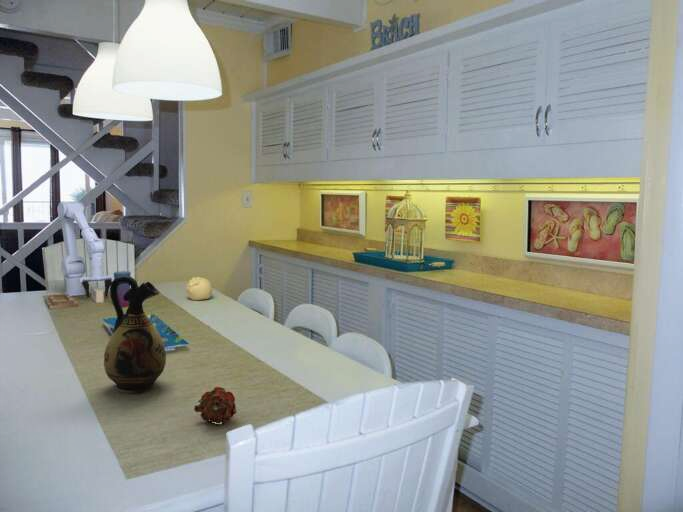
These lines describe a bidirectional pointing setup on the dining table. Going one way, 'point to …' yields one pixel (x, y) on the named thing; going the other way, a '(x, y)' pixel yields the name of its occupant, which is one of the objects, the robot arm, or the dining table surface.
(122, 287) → the cup
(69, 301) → the rack
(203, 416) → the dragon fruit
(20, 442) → the dining table surface
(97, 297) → the clay bar
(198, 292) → the sculpture
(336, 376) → the dining table surface
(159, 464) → the dining table surface
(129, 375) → the ceramic jug
